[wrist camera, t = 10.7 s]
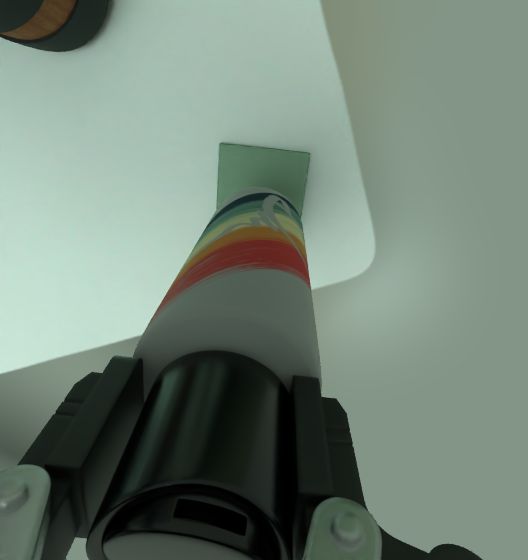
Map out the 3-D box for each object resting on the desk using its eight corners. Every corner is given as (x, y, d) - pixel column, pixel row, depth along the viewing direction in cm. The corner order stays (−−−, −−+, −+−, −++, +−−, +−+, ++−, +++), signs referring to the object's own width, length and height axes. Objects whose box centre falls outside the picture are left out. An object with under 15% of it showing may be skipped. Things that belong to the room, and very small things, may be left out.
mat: (220, 142, 30) (219, 143, 30) (309, 152, 30) (310, 153, 30) (215, 239, 34) (214, 241, 33) (295, 248, 34) (296, 250, 33)
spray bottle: (316, 203, 24) (413, 538, 6) (283, 281, 26) (278, 688, 8) (229, 170, 23) (37, 429, 5) (202, 252, 26) (8, 624, 8)
